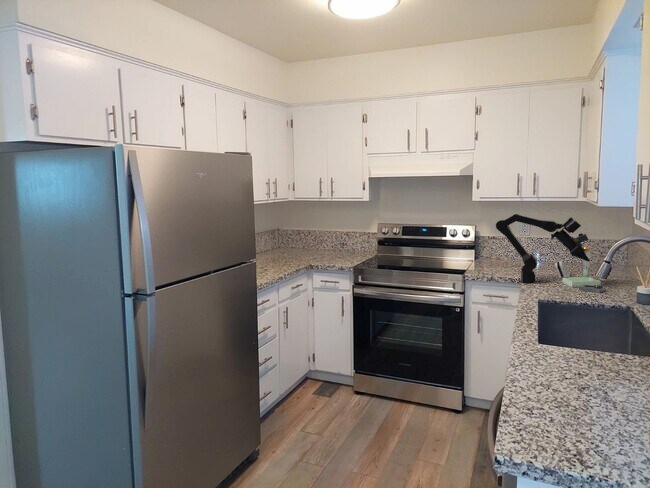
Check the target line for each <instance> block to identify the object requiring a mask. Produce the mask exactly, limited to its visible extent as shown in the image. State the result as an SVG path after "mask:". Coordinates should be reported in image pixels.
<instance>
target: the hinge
mask: <svg viewBox="0 0 650 488" xmlns="http://www.w3.org/2000/svg"><path fill="white" fill-rule="evenodd" d="M554 266H555V270H556V273H557V275H558V278H559V279H563V278H571V272H570V270H567V268H566V265H565V262H564V261H563V260H559V261H556V262H555V264H554Z"/></svg>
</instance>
